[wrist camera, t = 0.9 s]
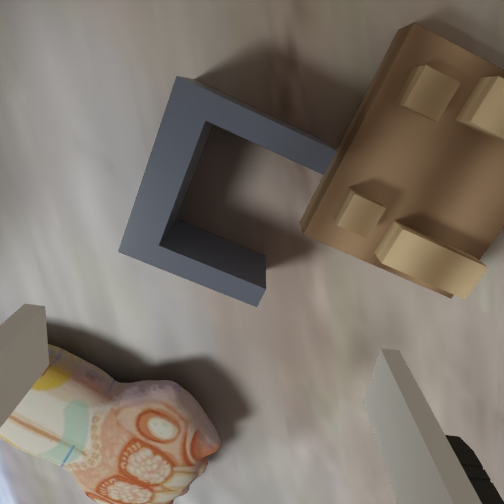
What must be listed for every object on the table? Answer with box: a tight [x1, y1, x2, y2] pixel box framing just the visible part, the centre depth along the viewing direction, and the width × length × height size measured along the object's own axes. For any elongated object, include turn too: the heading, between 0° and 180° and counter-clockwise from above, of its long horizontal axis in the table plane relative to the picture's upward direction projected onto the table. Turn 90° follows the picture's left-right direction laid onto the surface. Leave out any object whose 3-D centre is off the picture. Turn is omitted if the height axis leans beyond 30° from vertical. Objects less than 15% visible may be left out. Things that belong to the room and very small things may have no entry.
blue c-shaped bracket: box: [118, 76, 337, 307], centre depth 28 cm, size 10×12×6 cm
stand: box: [300, 23, 504, 299], centre depth 28 cm, size 13×15×5 cm
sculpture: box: [0, 344, 221, 504], centre depth 37 cm, size 17×7×25 cm
